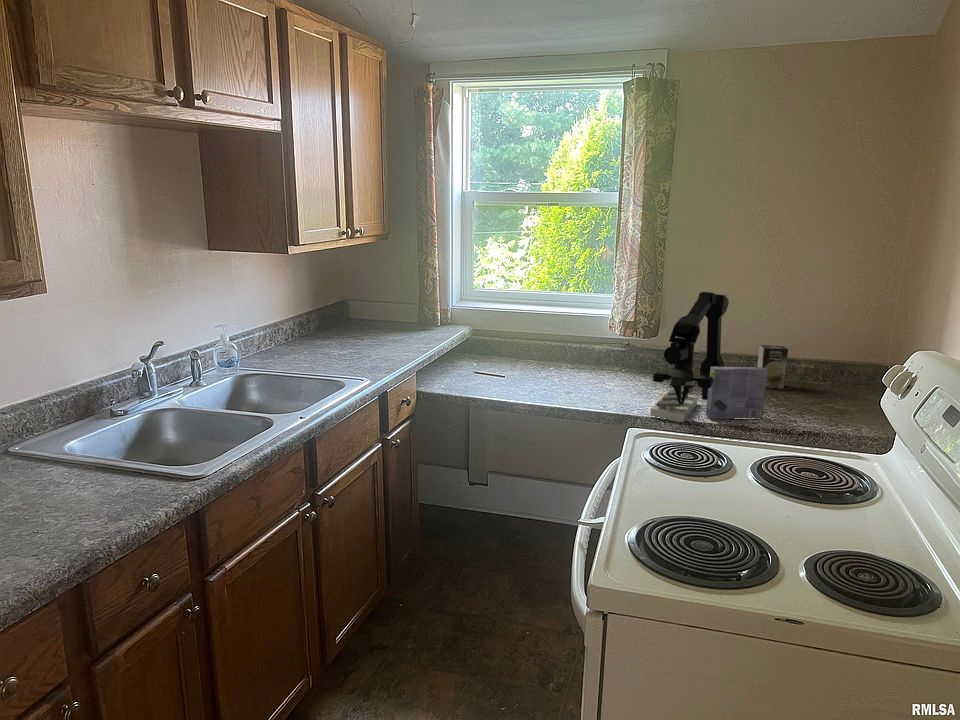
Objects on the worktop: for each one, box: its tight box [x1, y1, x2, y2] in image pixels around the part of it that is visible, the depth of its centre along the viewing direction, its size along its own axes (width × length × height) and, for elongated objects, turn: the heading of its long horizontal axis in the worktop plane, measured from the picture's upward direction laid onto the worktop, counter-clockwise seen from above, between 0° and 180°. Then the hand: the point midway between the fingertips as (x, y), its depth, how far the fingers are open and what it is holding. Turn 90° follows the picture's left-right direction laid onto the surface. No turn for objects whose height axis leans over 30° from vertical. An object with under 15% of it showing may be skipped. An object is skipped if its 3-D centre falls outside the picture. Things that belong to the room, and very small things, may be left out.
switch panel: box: [649, 391, 698, 423], centre depth 240 cm, size 11×23×4 cm, turn 152°
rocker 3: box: [655, 400, 683, 407], centre depth 233 cm, size 8×4×1 cm, turn 62°
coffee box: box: [757, 344, 789, 390], centre depth 269 cm, size 9×6×16 cm
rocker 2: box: [661, 394, 689, 401], centre depth 240 cm, size 8×4×1 cm, turn 62°
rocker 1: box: [667, 388, 693, 395], centre depth 247 cm, size 8×4×1 cm, turn 62°
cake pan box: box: [705, 366, 768, 420], centre depth 231 cm, size 19×5×18 cm, turn 92°
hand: (681, 403), depth 231 cm, fingers closed, pressing on rocker 3
